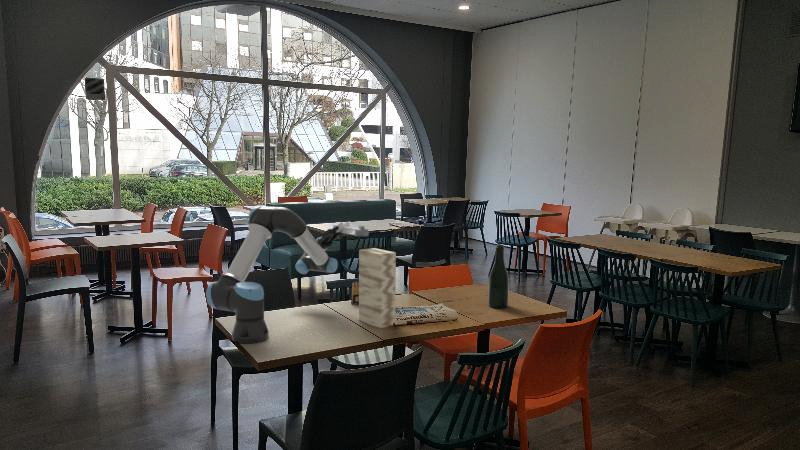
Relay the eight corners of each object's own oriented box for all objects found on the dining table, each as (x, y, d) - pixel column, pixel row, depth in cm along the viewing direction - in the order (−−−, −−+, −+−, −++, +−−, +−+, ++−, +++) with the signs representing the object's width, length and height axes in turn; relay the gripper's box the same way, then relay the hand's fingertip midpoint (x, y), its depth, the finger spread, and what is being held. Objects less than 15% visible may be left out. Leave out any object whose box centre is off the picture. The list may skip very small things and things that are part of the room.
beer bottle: (509, 309, 287) (511, 246, 283) (489, 308, 287) (491, 245, 283) (506, 303, 297) (508, 243, 294) (486, 303, 298) (488, 242, 294)
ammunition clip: (352, 304, 293) (352, 282, 292) (350, 303, 295) (350, 281, 294) (370, 302, 299) (370, 280, 297) (368, 301, 300) (368, 279, 299)
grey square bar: (360, 236, 261) (360, 227, 260) (330, 231, 280) (330, 222, 279) (371, 235, 265) (371, 226, 265) (340, 230, 284) (340, 221, 283)
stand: (380, 328, 252) (380, 254, 248) (358, 320, 264) (359, 249, 260) (395, 324, 258) (395, 252, 254) (373, 317, 270) (374, 248, 266)
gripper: (308, 237, 287) (329, 218, 271) (333, 235, 298) (356, 216, 281) (311, 250, 285) (334, 232, 269) (337, 248, 296) (361, 230, 279)
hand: (345, 224), depth 275 cm, fingers closed on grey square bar, 3 cm apart
